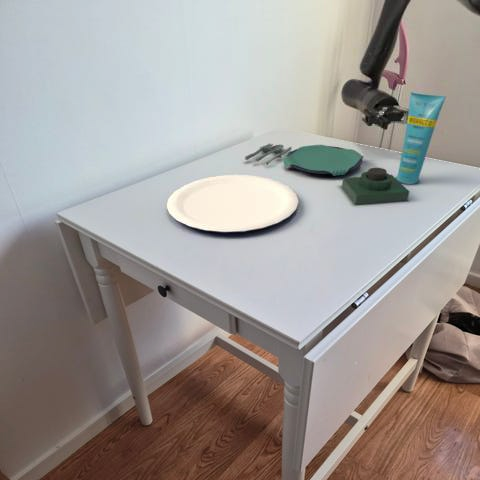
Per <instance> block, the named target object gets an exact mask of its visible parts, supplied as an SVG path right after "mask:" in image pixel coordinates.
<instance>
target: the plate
mask: <svg viewBox="0 0 480 480" xmlns="http://www.w3.org/2000/svg"><path fill="white" fill-rule="evenodd" d="M298 206H299V198H298V196H297V193H296V192H295V191H294V190H293V189H292V188H291V187H290V186H288V185H286V184H284V183H283V182H281V181H277V180H275V179H272V178H268V177H264V176H263V177H262V176H258V175H247V174H225V175H224V174H223V175H218V176H209V177H204V178H202V179H197V180H194V181H192V182H189V183H187V184H184V185H183V186H181V187H180V188H178V189H177V190H175V191H173V193H172V194H171V195H170V196H169V198H168V199H167V203H166V209H167V211H168V213H169V216H171V217H172V218H173V219H174V220H175V221H176V222H178V223H180V224H181V225H184V226H186V227H189V228H192V229H195V230H201V231H204V232H212V233H224V234H227V233H228V234H229V233H230V234H231V233H246V232H252V231H257V230H258V231H259V230H263V229H265V228H268V227H272V226H274V225H278V224H279V223H281V222H283V221H286V220H287V219H289V218H290V217H291V216H292V215H293V214H294V213H295V212H296V211H297V208H298Z"/></svg>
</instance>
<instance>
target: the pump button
mask: <svg viewBox="0 0 480 480" xmlns="http://www.w3.org/2000/svg"><path fill="white" fill-rule="evenodd" d="M386 173H388V171H387V170H386V169H385V168H383V167H371V168H369V169H368V175H367V178H368V179H370V180H375V181H383V180H385V178H386Z"/></svg>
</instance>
